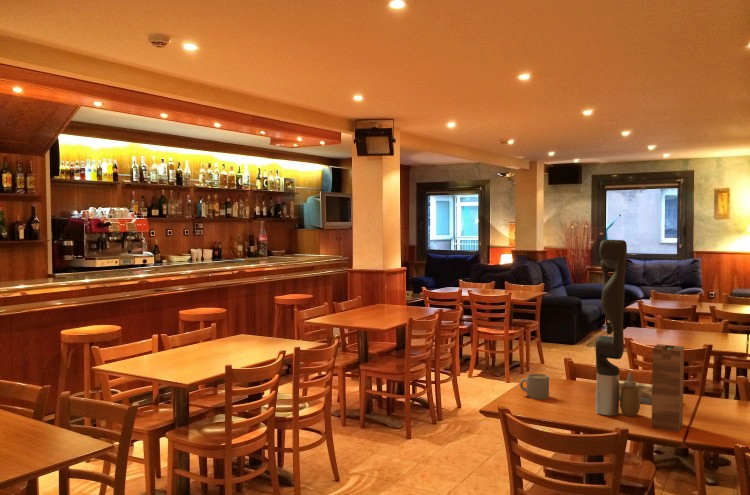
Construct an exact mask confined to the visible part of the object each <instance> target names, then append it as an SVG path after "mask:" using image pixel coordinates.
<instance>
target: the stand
mask: <svg viewBox="0 0 750 495" xmlns="http://www.w3.org/2000/svg"><path fill="white" fill-rule="evenodd" d="M667 348H672V350H668V349H667ZM684 350H685V346H683V345H682V346H680V345H670V344H661V343H660V344H659V343H657V344H656V345H654V347H653V348H652V374H651V375H652V376H651V377H652V378H651V381H652V383H651V385H652V405H651V429H658V430H663V431H668V430H669V432H675V431H677V432H676V433H680V431H681V429H682V427H683V425H682V424H684V421H683V419H684V414H683V413H684V374H685V373H684V371H685V370H684V368H685V367H684V366H685V365H684V358H685V355H684V354H685V351H684Z"/></svg>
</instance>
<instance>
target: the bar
mask: <svg viewBox="0 0 750 495" xmlns="http://www.w3.org/2000/svg"><path fill="white" fill-rule="evenodd" d="M625 381H626V380H619V394H621V392H622V387H623V386H625V385H624V382H625ZM635 387H637V388H638V391H639V396H642V397H649V398H652V383H651V384H649V383H643V382H642V383H641V382H636V386H635Z"/></svg>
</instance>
